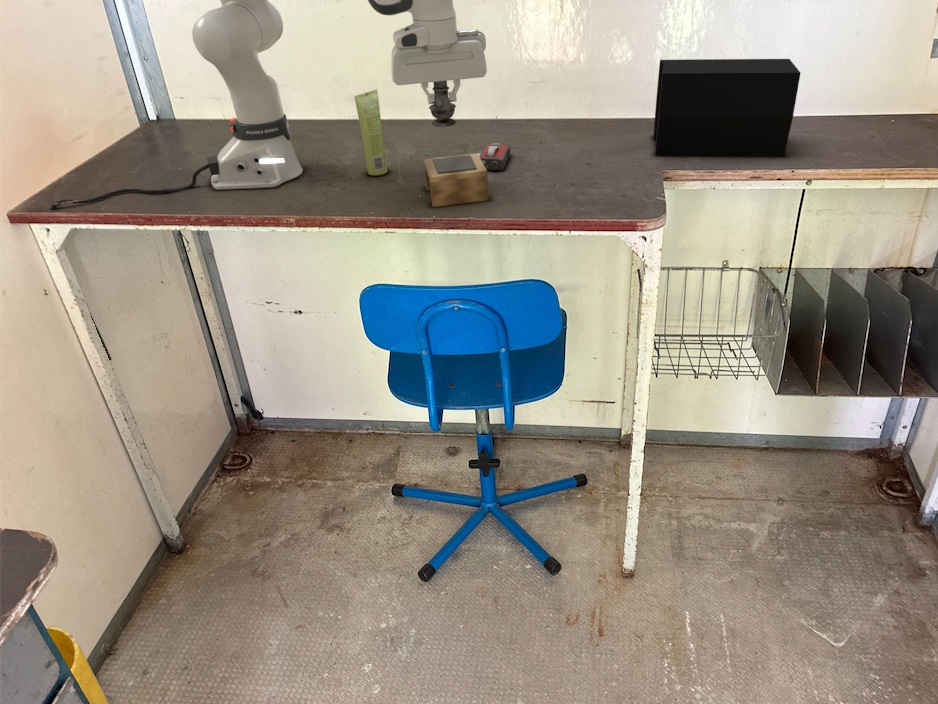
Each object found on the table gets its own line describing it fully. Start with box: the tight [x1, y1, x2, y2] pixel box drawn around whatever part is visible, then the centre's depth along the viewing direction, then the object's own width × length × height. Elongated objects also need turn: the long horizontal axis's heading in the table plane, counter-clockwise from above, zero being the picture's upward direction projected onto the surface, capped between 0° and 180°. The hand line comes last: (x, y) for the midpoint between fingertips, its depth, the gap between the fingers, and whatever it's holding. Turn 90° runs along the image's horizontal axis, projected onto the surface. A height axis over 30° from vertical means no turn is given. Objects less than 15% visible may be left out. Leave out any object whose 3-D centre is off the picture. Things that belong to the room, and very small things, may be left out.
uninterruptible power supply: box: [652, 58, 801, 158], centre depth 181 cm, size 16×34×20 cm, turn 83°
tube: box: [354, 88, 388, 176], centre depth 174 cm, size 6×5×20 cm
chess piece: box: [428, 81, 457, 128], centre depth 154 cm, size 6×6×12 cm
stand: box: [422, 152, 489, 208], centre depth 165 cm, size 13×12×7 cm
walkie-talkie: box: [477, 142, 511, 171], centre depth 179 cm, size 9×4×20 cm
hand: (442, 102), depth 155 cm, fingers closed on chess piece, 3 cm apart
